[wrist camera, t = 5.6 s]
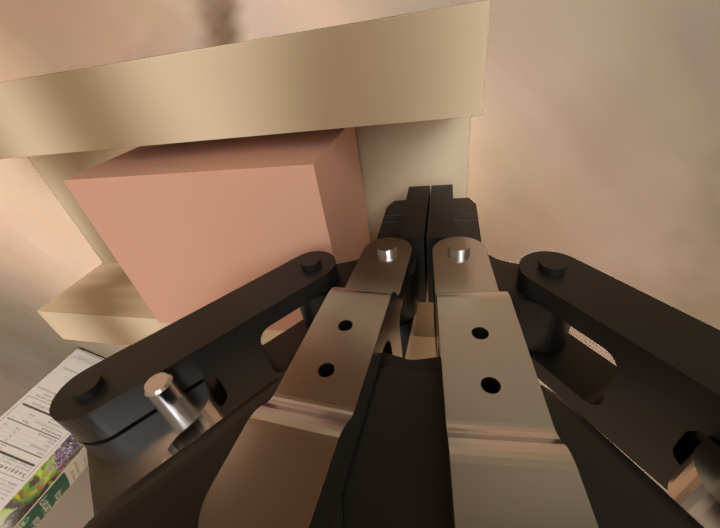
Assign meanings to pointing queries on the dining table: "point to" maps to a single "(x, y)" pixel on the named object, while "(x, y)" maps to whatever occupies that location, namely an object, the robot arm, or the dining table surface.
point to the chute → (257, 128)
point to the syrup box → (39, 449)
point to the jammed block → (225, 212)
